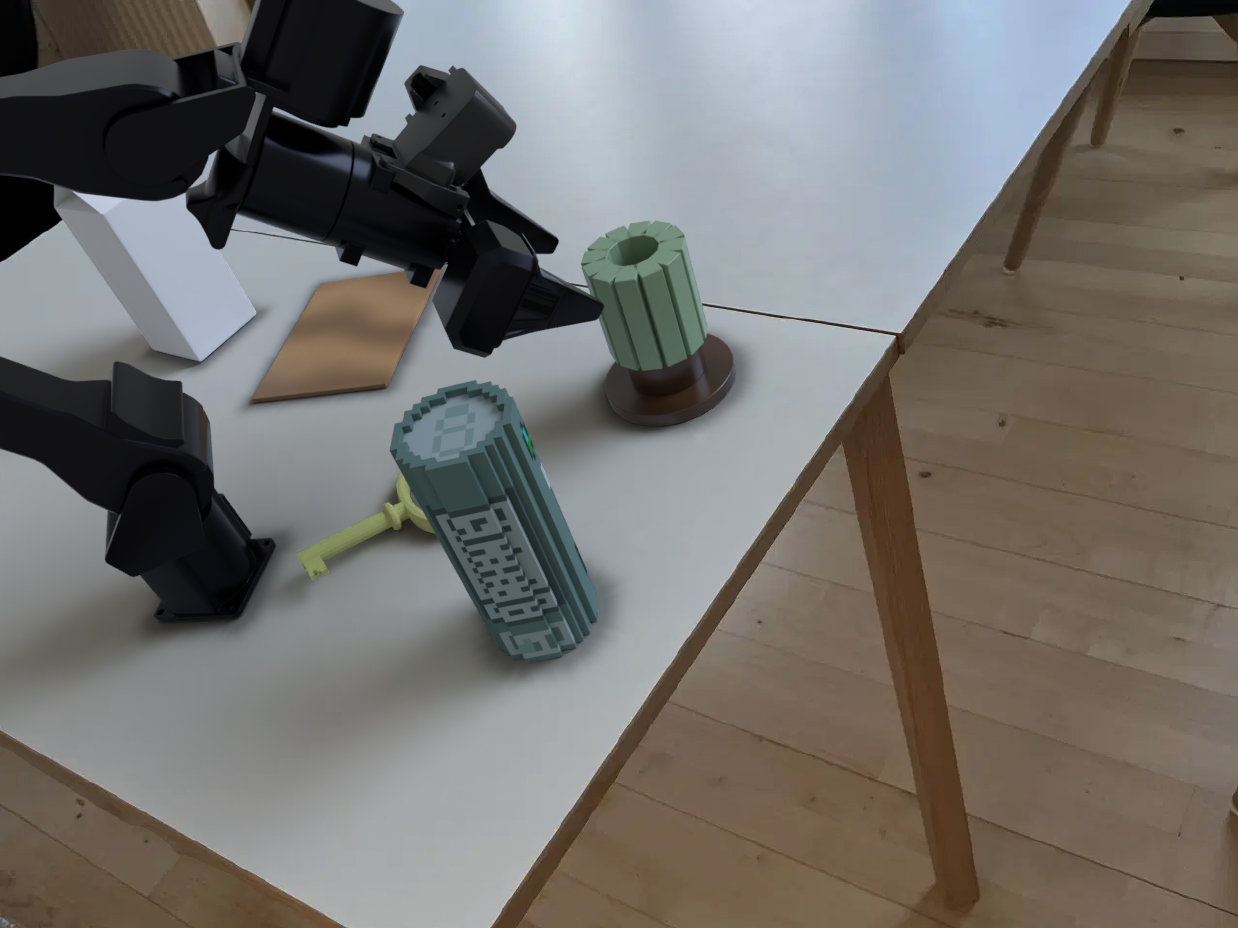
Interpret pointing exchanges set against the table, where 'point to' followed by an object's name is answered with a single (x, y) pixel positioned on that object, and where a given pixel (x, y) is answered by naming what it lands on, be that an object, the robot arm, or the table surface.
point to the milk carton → (159, 269)
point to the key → (365, 530)
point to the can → (497, 518)
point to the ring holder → (673, 386)
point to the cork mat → (347, 338)
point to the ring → (646, 294)
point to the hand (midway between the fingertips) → (577, 277)
